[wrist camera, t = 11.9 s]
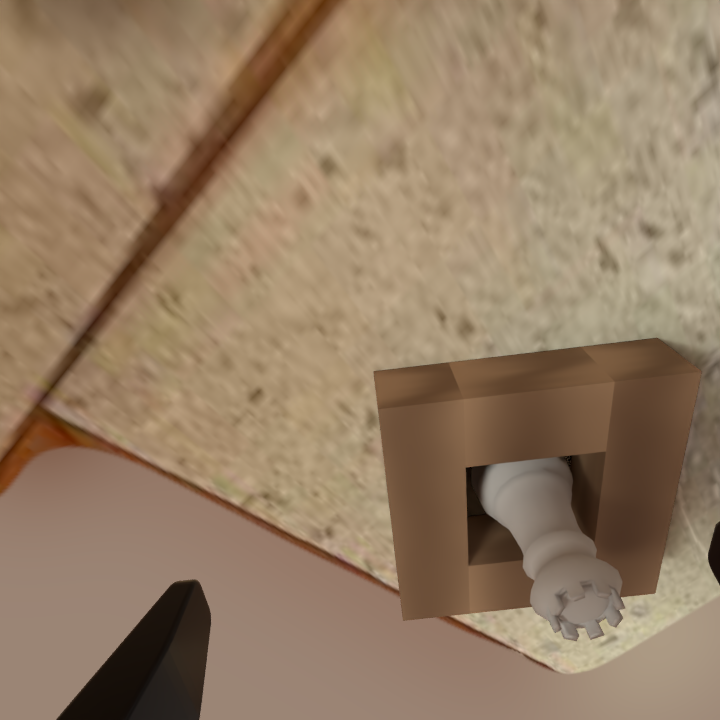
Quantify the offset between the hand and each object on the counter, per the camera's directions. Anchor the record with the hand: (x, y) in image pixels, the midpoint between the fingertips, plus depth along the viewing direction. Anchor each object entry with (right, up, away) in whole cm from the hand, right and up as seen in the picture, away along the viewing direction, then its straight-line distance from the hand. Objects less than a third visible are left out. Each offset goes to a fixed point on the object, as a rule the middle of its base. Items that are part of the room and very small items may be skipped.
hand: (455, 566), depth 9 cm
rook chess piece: (+6, -1, +16) cm, 17 cm away
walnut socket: (+6, -1, +16) cm, 17 cm away
